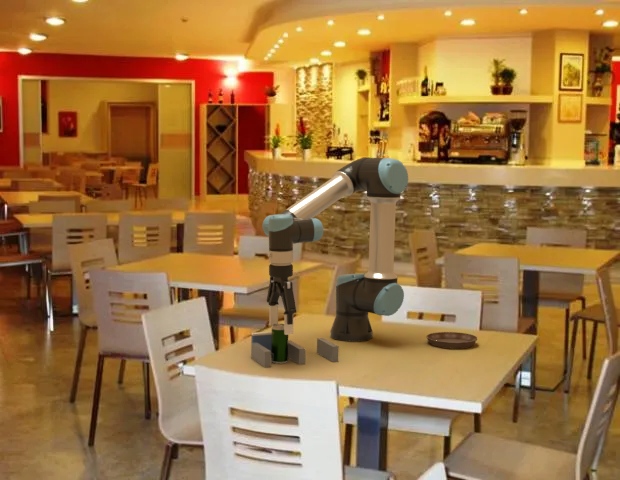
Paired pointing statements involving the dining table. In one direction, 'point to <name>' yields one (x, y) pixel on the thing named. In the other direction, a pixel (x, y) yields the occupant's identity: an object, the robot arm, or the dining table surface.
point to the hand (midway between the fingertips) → (281, 329)
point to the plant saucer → (451, 340)
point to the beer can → (279, 344)
